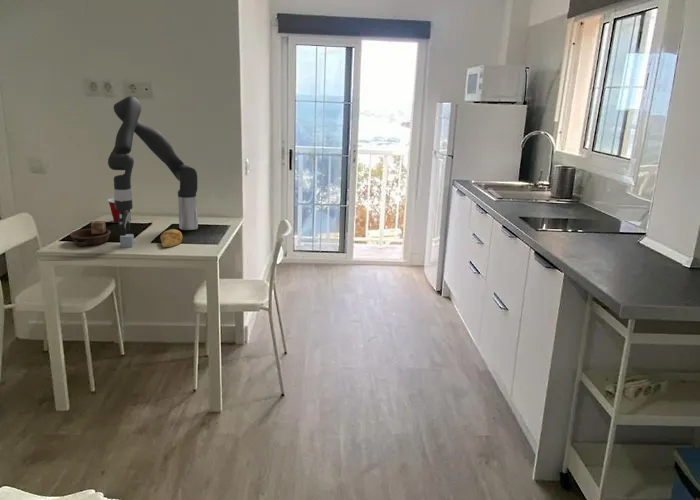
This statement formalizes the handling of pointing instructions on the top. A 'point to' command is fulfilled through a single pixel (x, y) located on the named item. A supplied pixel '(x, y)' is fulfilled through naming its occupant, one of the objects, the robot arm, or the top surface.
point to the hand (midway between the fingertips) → (125, 233)
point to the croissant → (171, 238)
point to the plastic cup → (113, 209)
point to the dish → (89, 237)
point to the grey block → (127, 240)
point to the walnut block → (98, 227)
